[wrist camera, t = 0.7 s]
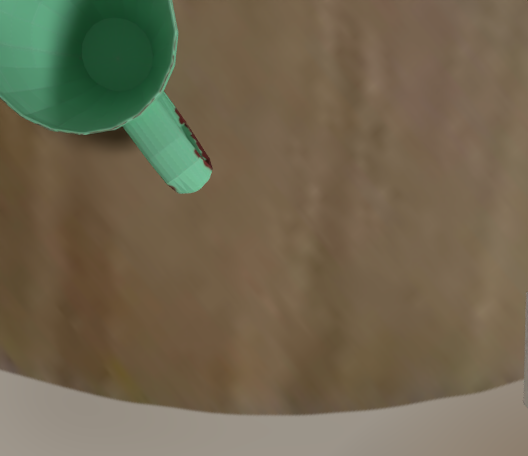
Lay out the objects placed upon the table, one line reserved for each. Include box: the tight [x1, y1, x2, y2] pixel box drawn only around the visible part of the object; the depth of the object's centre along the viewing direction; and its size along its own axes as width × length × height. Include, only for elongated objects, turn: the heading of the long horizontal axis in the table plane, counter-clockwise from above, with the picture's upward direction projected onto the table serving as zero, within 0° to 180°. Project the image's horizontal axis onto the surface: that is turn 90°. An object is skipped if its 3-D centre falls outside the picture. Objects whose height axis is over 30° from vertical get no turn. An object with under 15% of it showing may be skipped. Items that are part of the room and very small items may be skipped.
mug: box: [0, 0, 212, 193], centre depth 29 cm, size 15×10×10 cm
